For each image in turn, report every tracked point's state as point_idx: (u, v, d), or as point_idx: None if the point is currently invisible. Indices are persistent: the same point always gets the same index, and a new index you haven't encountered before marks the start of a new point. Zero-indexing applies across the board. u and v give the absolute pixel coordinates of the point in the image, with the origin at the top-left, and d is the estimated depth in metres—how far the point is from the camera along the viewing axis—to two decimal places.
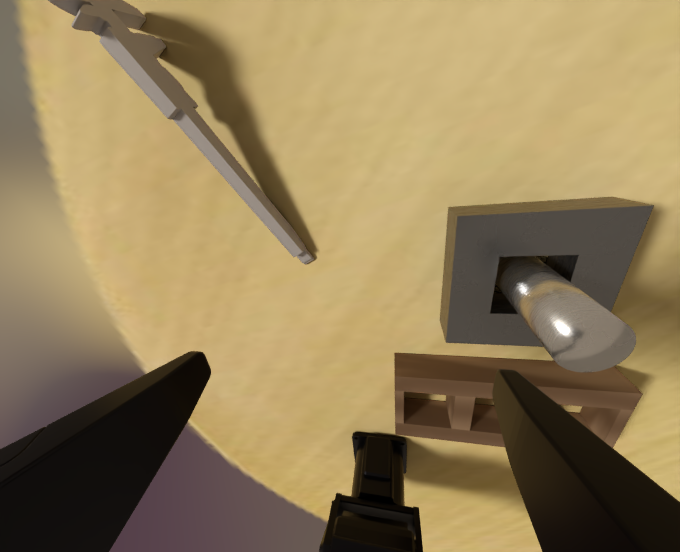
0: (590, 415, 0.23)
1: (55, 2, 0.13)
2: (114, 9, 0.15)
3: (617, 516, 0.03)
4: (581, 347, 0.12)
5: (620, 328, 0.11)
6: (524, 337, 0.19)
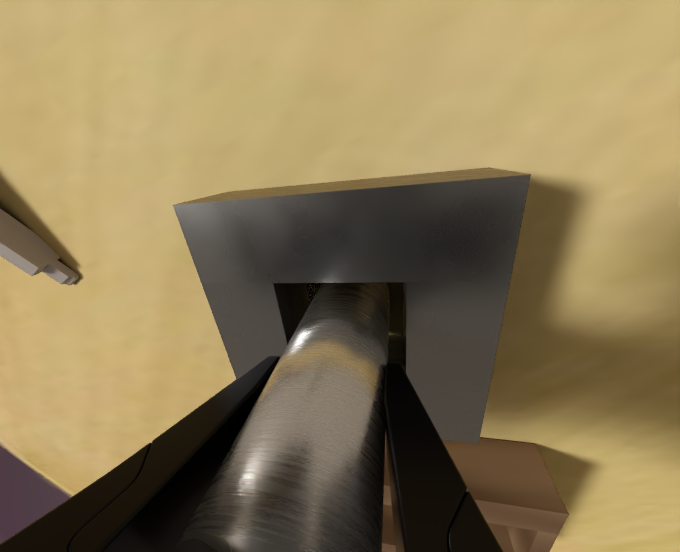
0: None
1: None
2: None
3: (401, 483, 0.04)
4: None
5: None
6: None
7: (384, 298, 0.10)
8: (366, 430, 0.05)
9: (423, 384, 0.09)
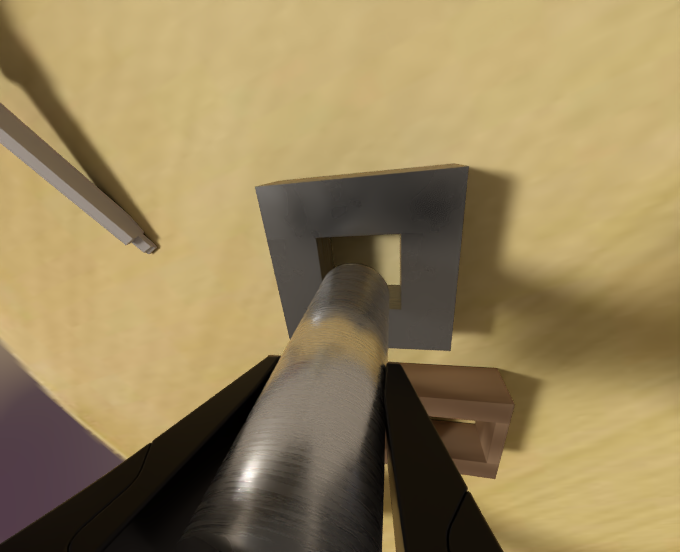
0: (480, 427, 0.20)
1: None
2: None
3: (401, 483, 0.04)
4: None
5: None
6: None
7: (384, 298, 0.10)
8: (366, 429, 0.05)
9: (412, 306, 0.14)
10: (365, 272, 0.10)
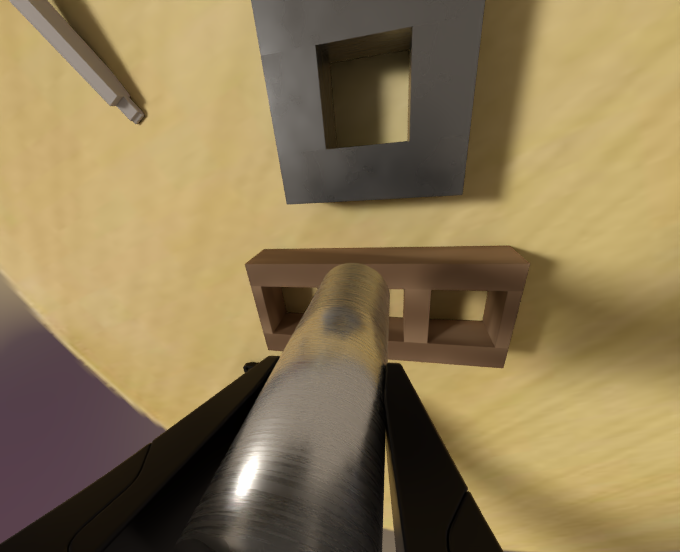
0: (488, 317, 0.19)
1: None
2: None
3: (401, 483, 0.04)
4: None
5: None
6: (374, 185, 0.14)
7: (384, 297, 0.10)
8: (366, 429, 0.05)
9: (422, 134, 0.13)
10: (365, 272, 0.10)
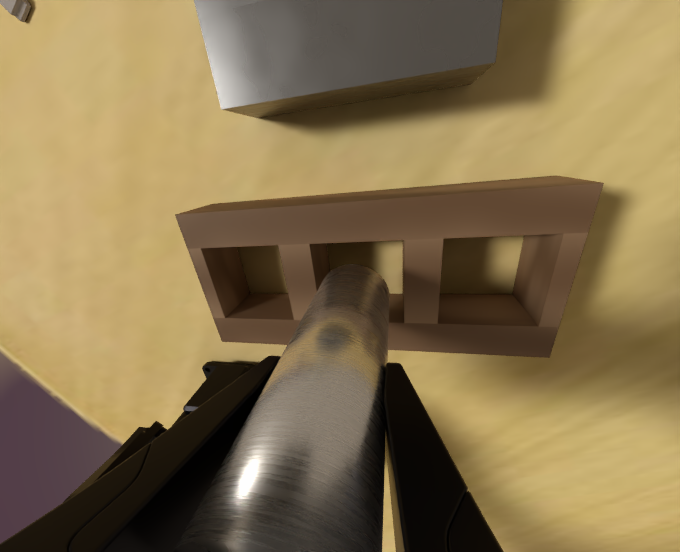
0: (524, 286, 0.13)
1: None
2: None
3: (401, 483, 0.04)
4: None
5: None
6: (350, 59, 0.09)
7: (384, 299, 0.10)
8: (366, 432, 0.05)
9: None
10: (365, 273, 0.10)
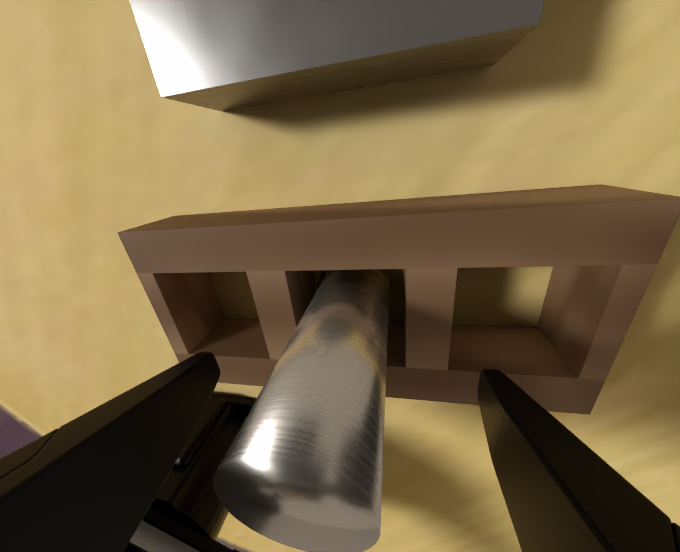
0: (555, 321, 0.10)
1: None
2: None
3: (584, 511, 0.04)
4: (274, 510, 0.05)
5: (326, 486, 0.04)
6: (330, 23, 0.06)
7: (384, 286, 0.11)
8: (369, 389, 0.06)
9: None
10: None
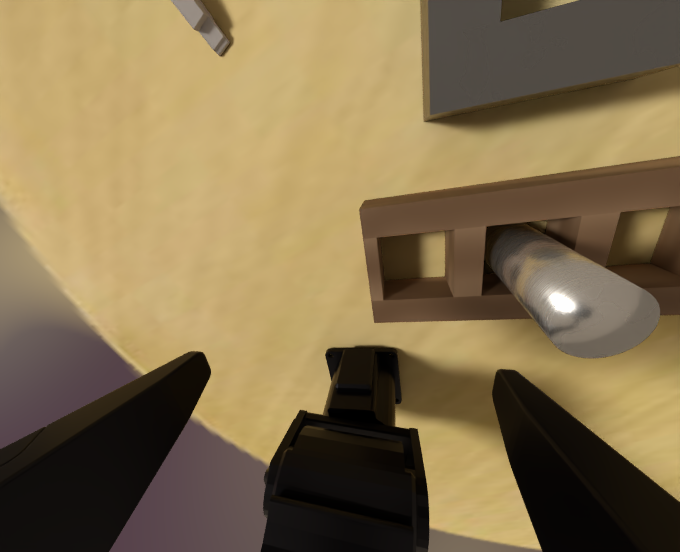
0: (671, 253, 0.15)
1: None
2: None
3: (617, 516, 0.03)
4: (588, 326, 0.09)
5: (637, 297, 0.09)
6: (564, 65, 0.11)
7: None
8: None
9: None
10: (523, 223, 0.16)
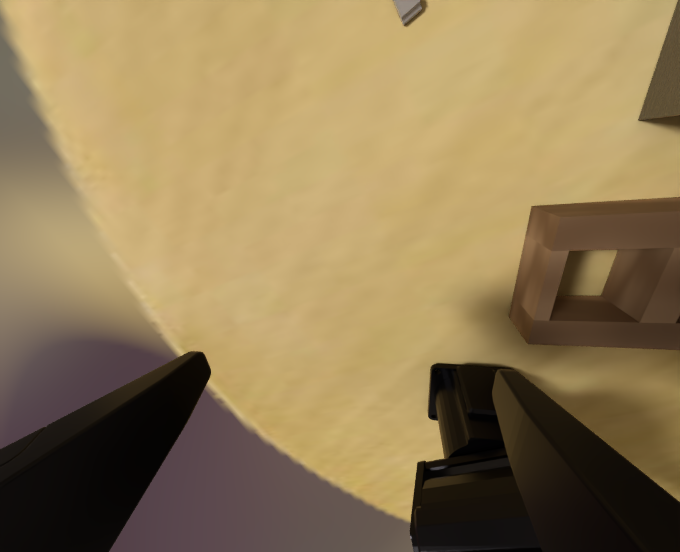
0: None
1: None
2: None
3: (617, 516, 0.03)
4: None
5: None
6: None
7: None
8: None
9: None
10: None
